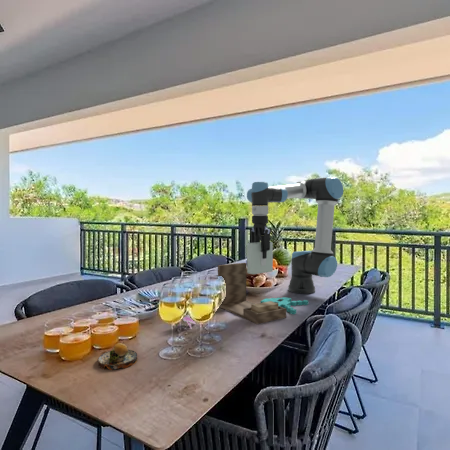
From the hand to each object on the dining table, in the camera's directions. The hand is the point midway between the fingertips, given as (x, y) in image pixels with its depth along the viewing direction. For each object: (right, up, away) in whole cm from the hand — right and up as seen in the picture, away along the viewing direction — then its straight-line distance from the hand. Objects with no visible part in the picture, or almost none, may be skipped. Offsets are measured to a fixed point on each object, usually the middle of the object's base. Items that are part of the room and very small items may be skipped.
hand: (260, 264), depth 165 cm
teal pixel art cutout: (+11, -22, +6) cm, 25 cm away
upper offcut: (+1, -18, -13) cm, 22 cm away
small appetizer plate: (-50, -24, -57) cm, 79 cm away
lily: (-33, -22, -24) cm, 46 cm away
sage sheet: (0, -4, 0) cm, 4 cm away
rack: (-5, -21, -4) cm, 22 cm away
